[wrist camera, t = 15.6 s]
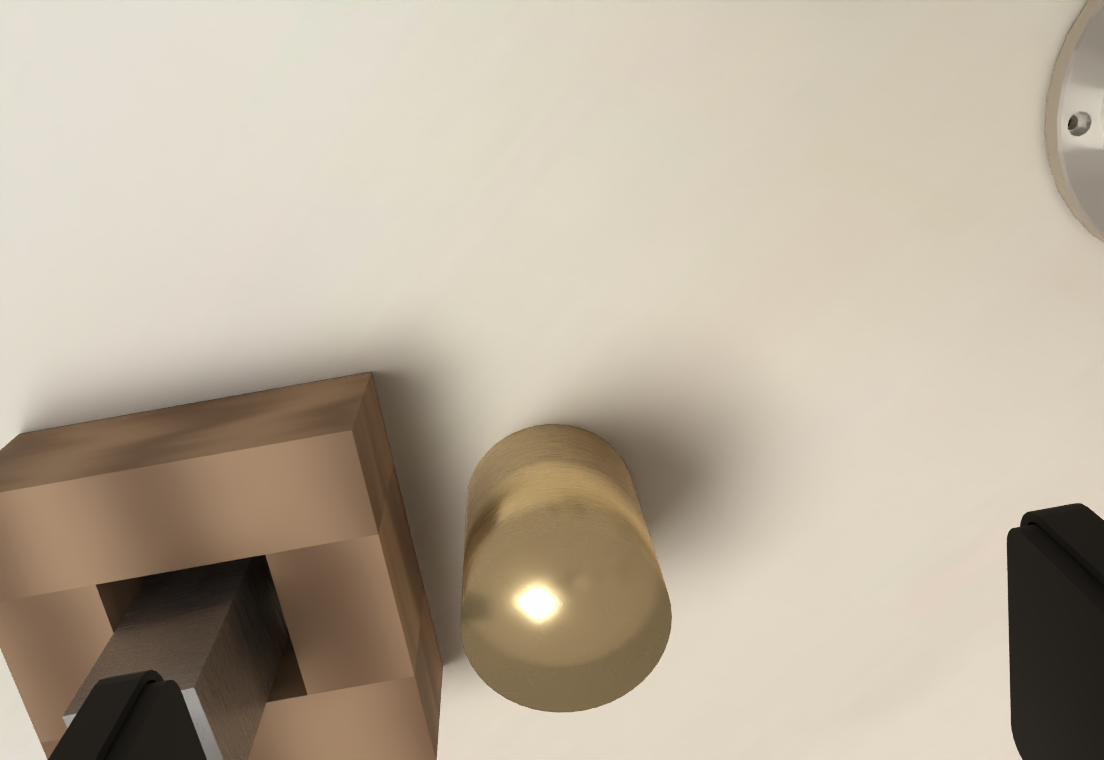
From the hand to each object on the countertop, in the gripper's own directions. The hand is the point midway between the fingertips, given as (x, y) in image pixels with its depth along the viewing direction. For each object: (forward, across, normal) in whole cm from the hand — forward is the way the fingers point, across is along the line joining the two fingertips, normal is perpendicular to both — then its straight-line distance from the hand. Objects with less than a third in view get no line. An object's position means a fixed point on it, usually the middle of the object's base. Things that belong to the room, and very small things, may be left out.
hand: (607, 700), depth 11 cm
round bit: (+28, +2, +12) cm, 30 cm away
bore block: (+28, +14, +11) cm, 33 cm away
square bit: (+28, +14, +11) cm, 33 cm away
